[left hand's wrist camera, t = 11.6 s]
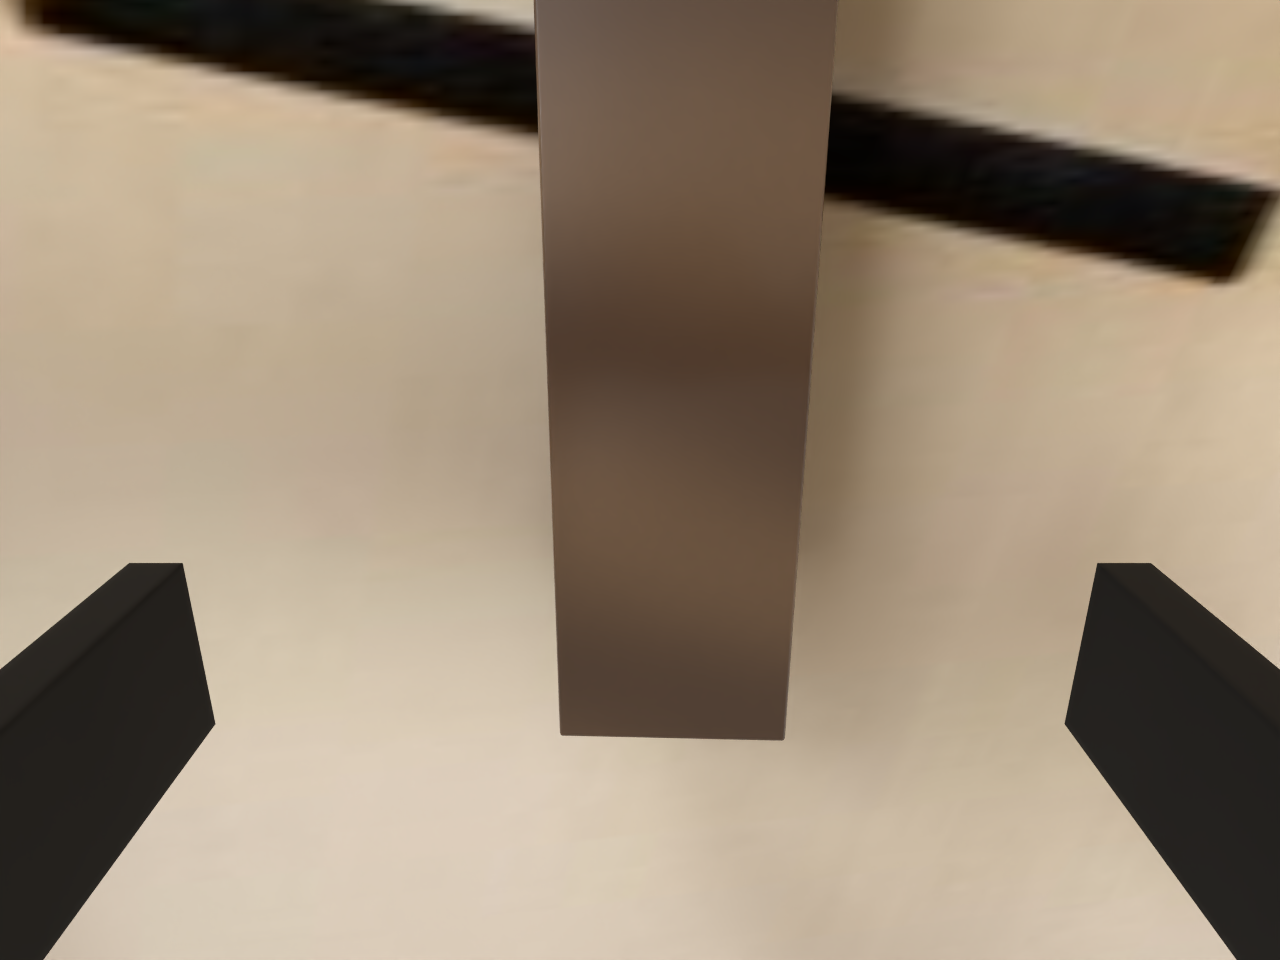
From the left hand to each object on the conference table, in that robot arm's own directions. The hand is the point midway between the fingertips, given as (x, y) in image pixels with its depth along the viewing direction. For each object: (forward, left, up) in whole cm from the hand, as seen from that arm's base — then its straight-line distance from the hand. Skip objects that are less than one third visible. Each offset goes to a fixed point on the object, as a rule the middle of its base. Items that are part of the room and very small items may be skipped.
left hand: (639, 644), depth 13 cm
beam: (+17, +18, -13) cm, 28 cm away
